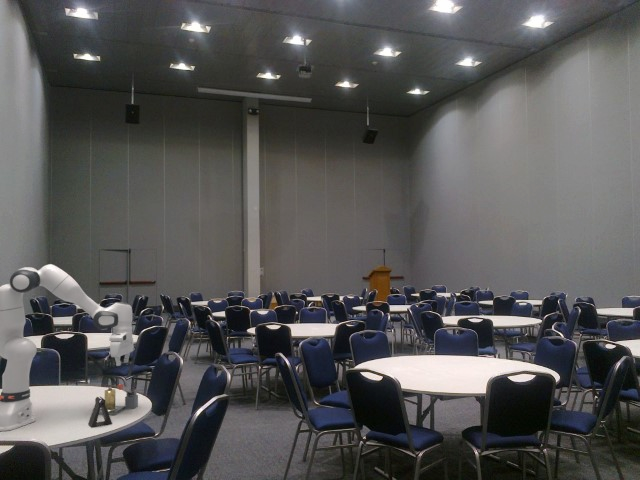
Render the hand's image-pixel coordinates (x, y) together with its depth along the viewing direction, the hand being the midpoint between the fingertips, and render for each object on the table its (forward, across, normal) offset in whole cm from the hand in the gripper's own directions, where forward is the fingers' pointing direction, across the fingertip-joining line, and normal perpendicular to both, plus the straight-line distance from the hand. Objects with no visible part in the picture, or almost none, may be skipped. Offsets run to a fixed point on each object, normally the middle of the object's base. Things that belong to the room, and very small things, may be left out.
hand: (122, 363), depth 273 cm
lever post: (+24, -11, +1) cm, 26 cm away
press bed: (+24, -3, -7) cm, 25 cm away
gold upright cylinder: (+22, -3, -7) cm, 24 cm away
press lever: (+15, -3, 0) cm, 15 cm away
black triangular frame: (+24, +18, -3) cm, 30 cm away
